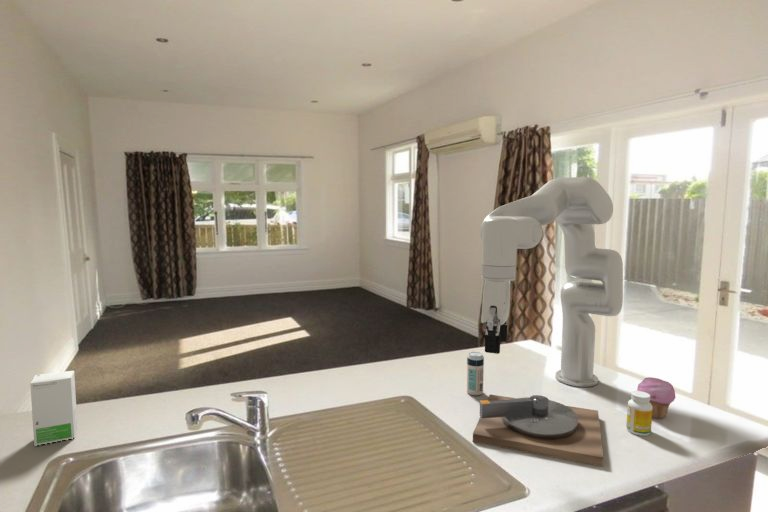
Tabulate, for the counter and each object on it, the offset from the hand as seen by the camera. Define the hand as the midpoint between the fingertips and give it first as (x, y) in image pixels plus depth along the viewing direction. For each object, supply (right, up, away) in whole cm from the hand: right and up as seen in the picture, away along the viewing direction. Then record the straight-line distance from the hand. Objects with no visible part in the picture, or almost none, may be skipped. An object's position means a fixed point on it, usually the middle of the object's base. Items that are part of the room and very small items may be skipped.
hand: (496, 346), depth 106 cm
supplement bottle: (+37, -23, +8) cm, 44 cm away
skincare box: (-106, -24, +8) cm, 109 cm away
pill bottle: (+1, -20, +32) cm, 37 cm away
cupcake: (+46, -22, +17) cm, 53 cm away
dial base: (+13, -23, +10) cm, 28 cm away
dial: (+10, -20, +9) cm, 24 cm away
